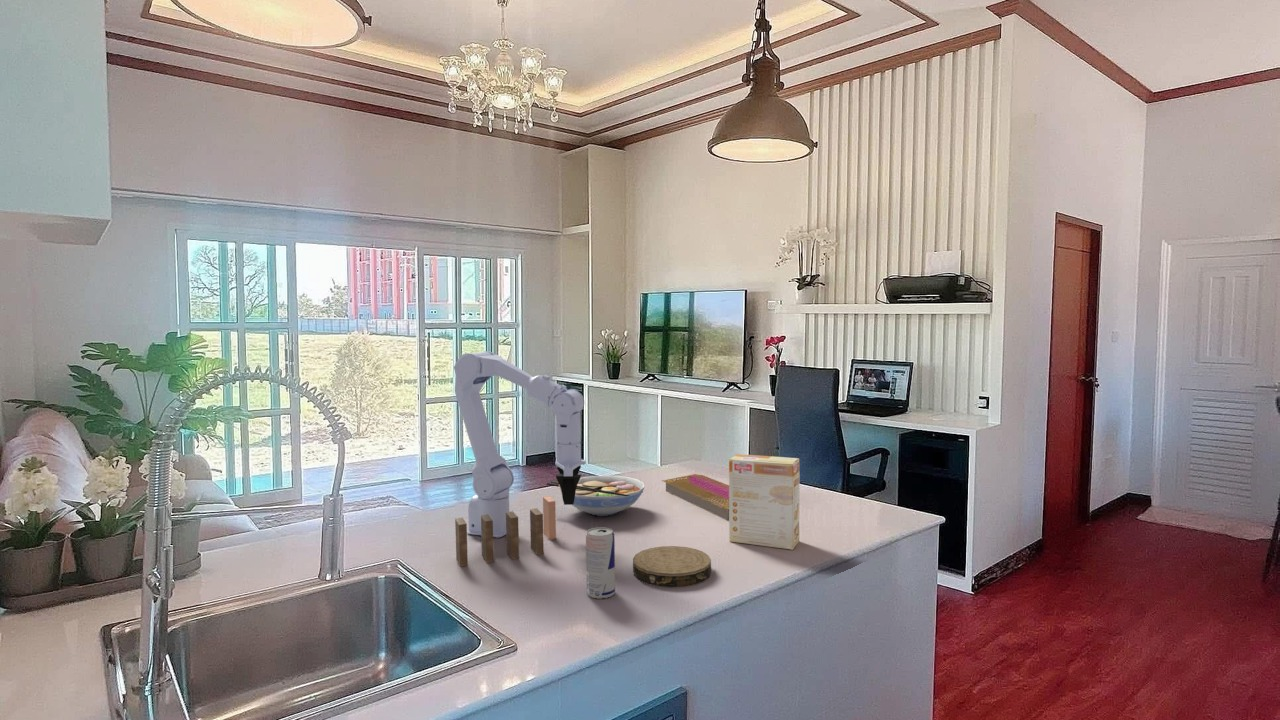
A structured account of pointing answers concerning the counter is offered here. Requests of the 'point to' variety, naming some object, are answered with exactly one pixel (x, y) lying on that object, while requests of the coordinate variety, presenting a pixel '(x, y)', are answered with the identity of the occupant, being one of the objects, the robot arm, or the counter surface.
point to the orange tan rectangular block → (549, 517)
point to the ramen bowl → (605, 494)
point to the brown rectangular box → (701, 493)
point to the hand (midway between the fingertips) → (568, 499)
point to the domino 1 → (461, 542)
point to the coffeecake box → (764, 500)
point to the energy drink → (600, 562)
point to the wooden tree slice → (672, 566)
